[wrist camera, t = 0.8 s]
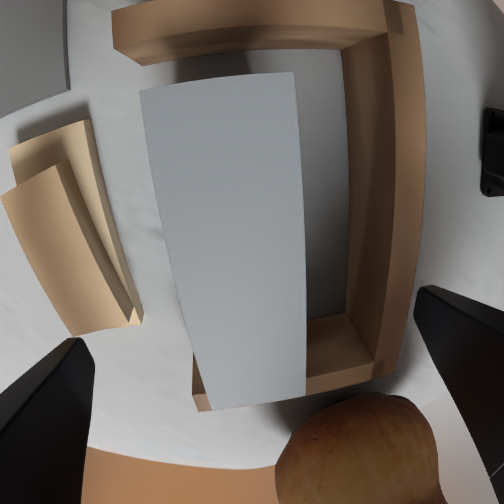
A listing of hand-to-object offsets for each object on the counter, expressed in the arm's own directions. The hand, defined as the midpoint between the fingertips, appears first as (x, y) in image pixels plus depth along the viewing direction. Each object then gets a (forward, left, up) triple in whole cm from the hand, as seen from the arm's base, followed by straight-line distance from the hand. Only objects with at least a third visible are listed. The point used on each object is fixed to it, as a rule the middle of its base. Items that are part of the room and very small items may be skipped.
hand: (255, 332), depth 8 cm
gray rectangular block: (0, 0, -10) cm, 10 cm away
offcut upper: (+9, +1, -9) cm, 13 cm away
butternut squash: (-7, +21, -11) cm, 24 cm away
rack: (-2, 0, -10) cm, 11 cm away
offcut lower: (+9, 0, -11) cm, 14 cm away
